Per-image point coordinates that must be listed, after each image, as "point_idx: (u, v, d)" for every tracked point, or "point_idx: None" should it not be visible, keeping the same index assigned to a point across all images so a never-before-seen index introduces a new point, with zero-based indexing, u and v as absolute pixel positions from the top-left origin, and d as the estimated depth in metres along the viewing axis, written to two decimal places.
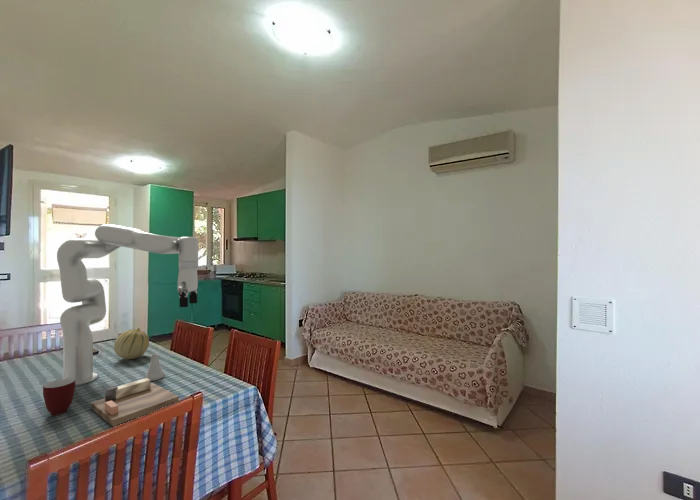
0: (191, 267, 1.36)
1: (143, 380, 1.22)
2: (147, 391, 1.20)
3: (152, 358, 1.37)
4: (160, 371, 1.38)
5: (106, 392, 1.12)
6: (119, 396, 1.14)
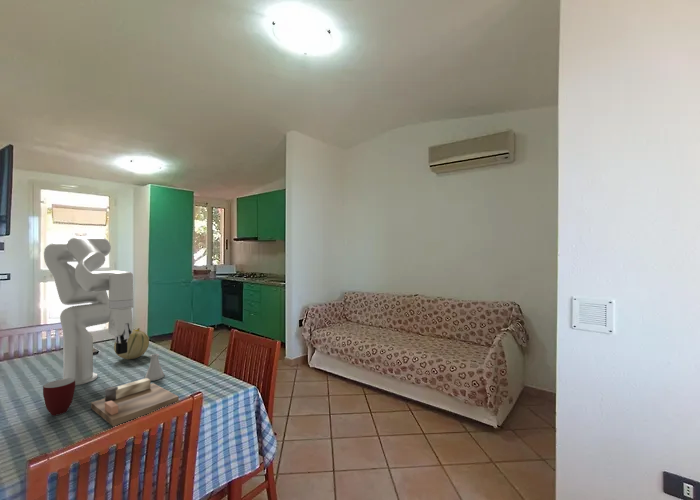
0: (131, 306, 1.22)
1: (143, 380, 1.22)
2: (147, 391, 1.20)
3: (152, 358, 1.37)
4: (160, 371, 1.38)
5: (106, 392, 1.12)
6: (119, 396, 1.14)
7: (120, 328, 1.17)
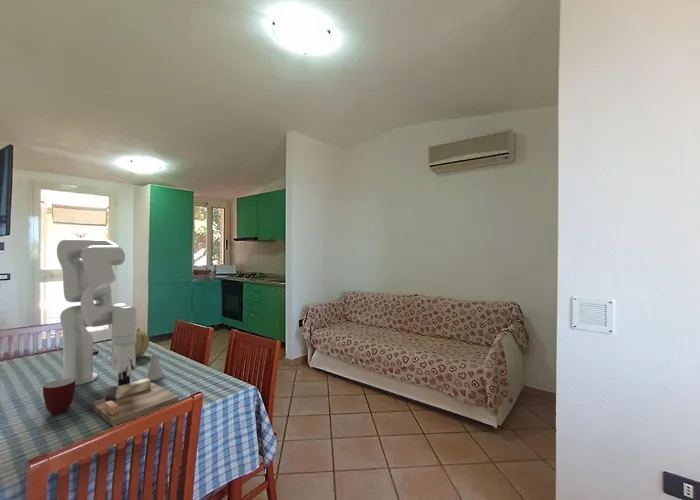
0: (134, 341, 1.20)
1: (143, 380, 1.22)
2: (147, 391, 1.20)
3: (152, 358, 1.37)
4: (160, 371, 1.38)
5: (106, 392, 1.12)
6: (119, 396, 1.14)
7: (123, 365, 1.15)
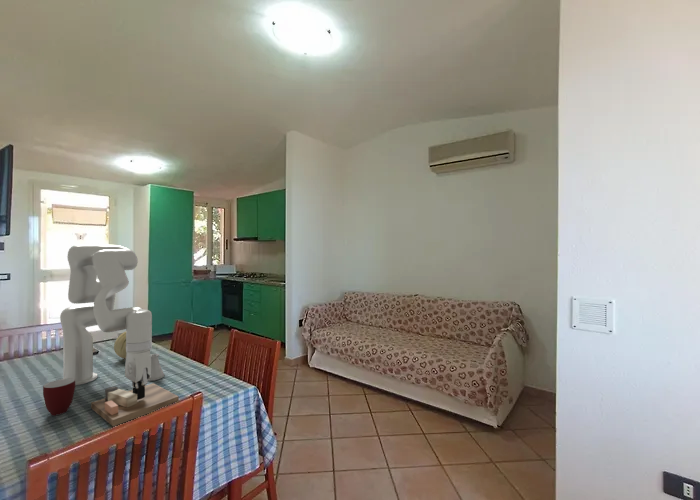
0: (150, 347, 1.12)
1: (128, 395, 1.09)
2: (147, 391, 1.20)
3: (152, 358, 1.37)
4: (160, 371, 1.38)
5: None
6: (109, 400, 1.11)
7: (138, 374, 1.08)
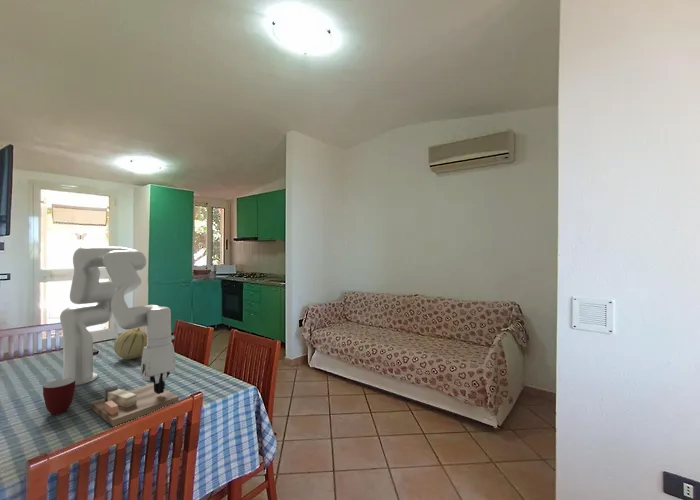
0: (153, 346, 1.12)
1: (127, 395, 1.09)
2: (147, 391, 1.20)
3: None
4: None
5: None
6: (109, 400, 1.11)
7: (141, 366, 1.13)
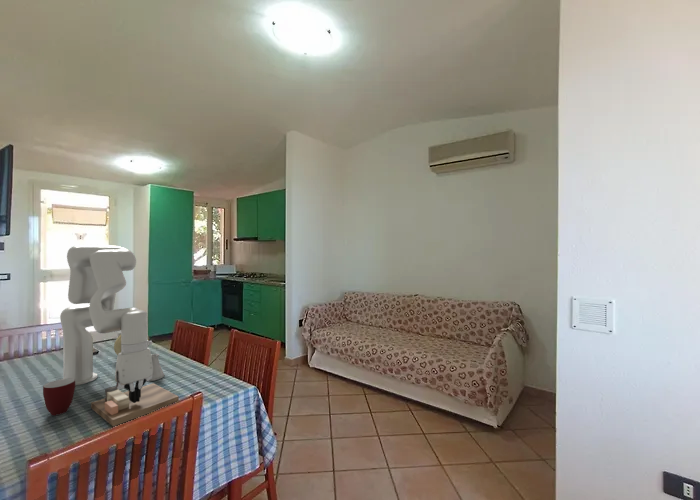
0: (127, 352, 1.06)
1: (121, 397, 1.07)
2: (147, 391, 1.20)
3: (152, 358, 1.37)
4: (160, 371, 1.38)
5: None
6: (107, 400, 1.11)
7: (115, 374, 1.07)
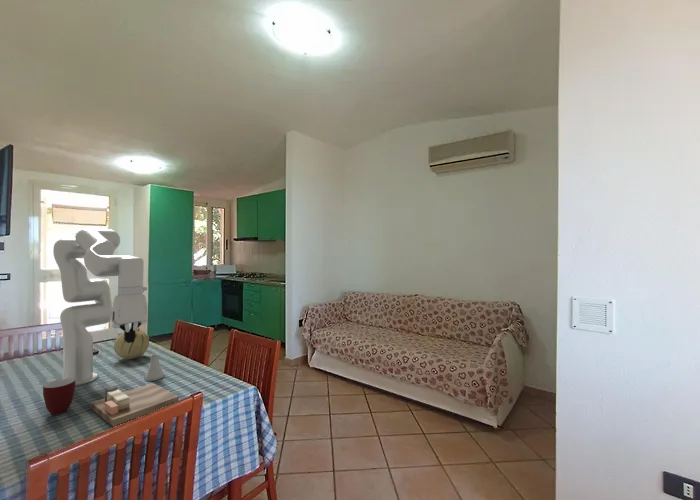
0: (123, 294, 1.12)
1: (121, 397, 1.07)
2: (147, 391, 1.20)
3: (152, 358, 1.37)
4: (160, 371, 1.38)
5: None
6: (107, 400, 1.11)
7: (111, 314, 1.13)
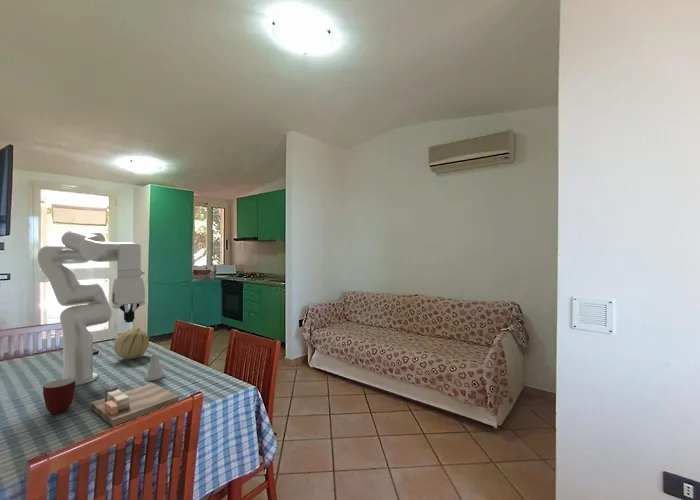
0: (123, 277, 1.21)
1: (121, 397, 1.07)
2: (147, 391, 1.20)
3: (152, 358, 1.37)
4: (160, 371, 1.38)
5: None
6: (107, 400, 1.11)
7: None
